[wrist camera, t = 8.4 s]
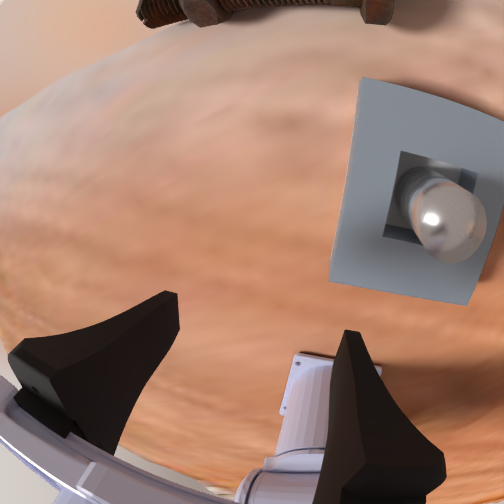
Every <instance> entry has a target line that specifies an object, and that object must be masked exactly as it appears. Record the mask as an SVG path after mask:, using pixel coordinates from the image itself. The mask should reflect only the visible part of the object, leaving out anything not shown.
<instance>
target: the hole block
mask: <svg viewBox="0 0 504 504" xmlns="http://www.w3.org/2000/svg"><path fill="white" fill-rule="evenodd" d="M419 166H423V167H427V168H430V169H432V170H434V171H436V172H437V173H439V174H441V175H443V176H444V177H446V178H448V179H449V180H451V181H453V182H454V183H456V184H458V185H459V186H461V187H462V188H464V189H466V190H467V191H469V192H470V193H472V194H473V195H475V196H476V197H477V198H478V199H479V200H480V202H481V203H482V205H483V207H484V209H485V213H486V218H487V227H486V232H485V236H484V239H483V241H482V243H481V245H480V246H479V248H478V249H477V250H476V251H475V252H474V253H473V254H472V255H471V256H470V257H469V258H467V259H465V260H463V261H461V262H458V263H451V264H449V263H443V262H440V261H437V260H436V259H434V258H433V257H432V256H431V255H430V254H429V253H428V251H427V250H426V248H425V247H424V245H423V244H422V242H421V241H420V239H419V238H418V236H417V235H416V233H415V232H414V231H413V229H412V228H411V226H410V225H409V223H408V222H407V221H406V219H405V218H404V216H403V215H402V214H401V212H400V211H399V209H398V207H397V205H396V202H395V187H396V184H397V182H398V180H399V178H400V177H401V176H402V174H403V173H405V172H406V171H407V170H409V169H411V168H414V167H419ZM503 207H504V121H502V120H499V119H497V118H495V117H492V116H490V115H488V114H485V113H483V112H480V111H478V110H475V109H473V108H470V107H467V106H465V105H462V104H459V103H456V102H453V101H451V100H448V99H445V98H442V97H438V96H435V95H432V94H429V93H425V92H422V91H419V90H415V89H411V88H408V87H404V86H400V85H396V84H392V83H388V82H383V81H379V80H374V79H370V78H365V77H363V78H362V79H361V80H360V82H359V83H358V91H357V100H356V109H355V117H354V125H353V132H352V140H351V147H350V153H349V160H348V166H347V173H346V179H345V185H344V190H343V196H342V202H341V207H340V213H339V218H338V223H337V228H336V233H335V238H334V243H333V248H332V252H331V257H330V268H329V282H334V283H340V284H345V285H350V286H356V287H361V288H367V289H372V290H378V291H383V292H389V293H394V294H400V295H406V296H411V297H417V298H423V299H428V300H434V301H440V302H446V303H452V304H457V305H463V306H467V304H468V302H469V300H470V298H471V296H472V293H473V291H474V289H475V286H476V284H477V282H478V279H479V277H480V274H481V272H482V269H483V267H484V264H485V262H486V259H487V256H488V254H489V251H490V248H491V245H492V242H493V239H494V236H495V233H496V230H497V227H498V224H499V221H500V217H501V214H502V210H503Z"/></svg>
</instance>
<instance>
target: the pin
mask: <svg viewBox="0 0 504 504" xmlns="http://www.w3.org/2000/svg"><path fill="white" fill-rule="evenodd" d="M395 202H396V205H397V207H398V209H399V211H400V212H401V214H402V215H403V216H404V218H405V219H406V221H407V222H408V223H409V225H410V226H411V228H412V229H413V231H414V232H415V233H416V235H417V236H418V238H419V239H420V241H421V242H422V244H423V245H424V247H425V248H426V250H427V251H428V253H429V254H430V255H431V256H432V257H433V258H434V259H436V260H437V261H440V262H443V263H449V264H451V263H458V262H461V261H463V260H465V259H467V258H469V257H470V256H471V255H472V254H473V253H474V252H475V251H476V250H477V249H478V248H479V246H480V245H481V243H482V241H483V239H484V236H485V232H486V227H487V218H486V213H485V209H484V207H483V205H482V203H481V202H480V200H479V199H478V198H477V197H476V196H475V195H473V194H472V193H470V192H469V191H467V190H466V189H464V188H462V187H461V186H459V185H458V184H456V183H454V182H453V181H451V180H449V179H448V178H446V177H444V176H443V175H441V174H439V173H437V172H436V171H434V170H432V169H430V168H427V167H423V166H419V167H414V168H411V169H409V170H407V171H406V172H405V173H403V174H402V176H401V177H400V178H399V180H398V182H397V184H396V187H395Z"/></svg>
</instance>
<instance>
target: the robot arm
mask: <svg viewBox="0 0 504 504" xmlns="http://www.w3.org/2000/svg"><path fill="white" fill-rule="evenodd" d="M179 330H180V325H179V311H178V296H177V293H173V292H169V291H163V292H161V293H159V294H157V295H155V296H153V297H151V298H150V299H148V300H146V301H144V302H142V303H140V304H138V305H137V306H135V307H133V308H131V309H129V310H127V311H125V312H123V313H121V314H119V315H117V316H114V317H112V318H110V319H108V320H106V321H103V322H101V323H98V324H95V325H92V326H90V327H87V328H83V329H80V330H76V331H72V332H69V333H64V334H59V335H53V336H47V337H37V338H25V339H24V340H23V341H21V342H20V343H19V344H18V345H17V346H16V347H15V348H14V349H13V350H12V351H11V352H10V353H9V354H8V362H9V364H10V366H11V368H12V370H13V372H14V374H15V375H16V377H17V379H18V381H19V382H20V384H21V385H22V388H21V389H20V390H19V391H18V389H17V388H16V387H15V386H14V385H12V384H11V383H10V382H9V381H7V380H6V379H5V378H4V377H3V376H0V442H1V443H2V444H3V445H4V446H5V447H6V448H7V449H8V450H9V451H10V452H12V453H13V454H14V455H15V456H16V457H17V458H18V459H19V460H21V461H22V462H23V463H24V464H25V465H27V466H28V467H29V468H30V469H31V470H33V471H34V472H35V473H36V474H38V475H39V476H40V477H42V478H43V479H44V480H45V481H46V482H48V483H49V484H50V485H52V486H53V487H55V488H56V489H57V490H59V491H60V493H59V494H58V496H57V497H56V499H55V500H54V502H53V504H426V495H427V494H429V493H430V492H431V491H433V490H434V489H436V488H437V487H438V486H440V485H441V484H442V483H443V482H444V481H445V479H446V477H447V475H446V464H445V458H444V453H443V452H442V451H441V450H439V449H438V448H437V447H436V446H435V445H434V444H432V443H431V442H430V441H429V440H428V439H427V438H426V437H425V436H424V435H423V434H422V433H421V432H420V431H419V430H418V429H417V428H416V427H415V426H414V425H413V424H412V423H411V422H410V420H409V419H408V418H407V417H406V416H405V414H404V413H403V412H402V411H401V409H400V408H399V407H398V405H397V404H396V403H395V401H394V400H393V398H392V397H391V395H390V393H389V392H388V390H387V388H386V387H385V385H384V383H383V381H382V380H381V378H380V376H381V374H382V367H380V366H375V365H374V364H373V362H372V360H371V357H370V355H369V353H368V351H367V348H366V346H365V343H364V341H363V339H362V336H361V334H360V332H357V331H351V330H345V331H344V334H343V337H342V340H341V343H340V345H339V348H338V351H337V354H336V357H335V359H330V358H325V357H319V356H314V355H308V354H303V353H297V354H295V355H294V359H293V363H292V367H291V371H290V375H289V378H288V382H287V386H286V390H285V393H284V397H283V401H282V404H281V408H280V414H281V415H284V419H283V424H282V428H281V432H280V436H279V440H278V444H277V448H276V452H275V455H274V457H266V459H265V462H264V465H263V468H257V469H254V470H252V471H251V472H250V473H249V474H248V475H247V476H246V477H245V478H244V479H243V481H242V482H241V484H240V485H239V488H238V490H237V493H236V496H235V500H234V501H230V500H227V499H223V498H219V497H216V496H213V495H209V494H206V493H203V492H200V491H197V490H194V489H191V488H188V487H185V486H182V485H179V484H177V483H174V482H171V481H169V480H166V479H163V478H161V477H158V476H156V475H154V474H151V473H149V472H147V471H144V470H142V469H140V468H138V467H135V466H133V465H131V464H129V463H127V462H125V461H123V460H121V459H119V458H116V457H115V456H114V453H115V450H116V448H117V445H118V442H119V440H120V437H121V434H122V432H123V430H124V427H125V425H126V423H127V420H128V418H129V416H130V414H131V412H132V409H133V407H134V405H135V403H136V401H137V399H138V397H139V395H140V393H141V392H142V390H143V388H144V386H145V385H146V383H147V381H148V380H149V379H150V377H151V376H152V374H153V373H154V371H155V370H156V368H157V367H158V366H159V364H160V363H161V361H162V360H163V358H164V357H165V355H166V354H167V352H168V351H169V349H170V348H171V346H172V344H173V342H174V340H175V338H176V336H177V334H178V332H179ZM298 362H300V363H298Z"/></svg>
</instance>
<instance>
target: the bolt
mask: <svg viewBox="0 0 504 504" xmlns="http://www.w3.org/2000/svg"><path fill="white" fill-rule="evenodd" d="M299 2H300V3H301V4H305V2H306V3H307V4H310V3H311V2H312V3H313V4H316V3H317V2H318V3H319V4H322V2H324V3H325V4H332V5H334V6H354V7H360V12H361V16H362V18H363V20H364V22H365V24H377V25H386V24H388V22H389V21H390V19H391V17H392V14H393V10H394V0H140V1H139V4H138V7H137V10H136V14H137V17H138V18H139V19H140V20H141V21H143V19H144V22H143V24H144V25H146V26H147V27H149V28H153V29H154V28H157V27H161V26H164V25H169V24H172V23H176V22H179V21H183V20H187V19H189V20H190V21H191V22H193V23H194V24H196V25H197V26H199V27H206V26H211V25H217V24H219V23H222V22H224V21H226V20H228V19H229V18H230V17H231V15H232V12H233V10H234V11H236V10H238V9H239V10H242V9H243V8H244V9H248V8H254V7H257V8H259V7H260V6H261V7H264V6H265V5H266V6H271V5H273V6H276V5H279V6H281V5H282V4H284V5H287V4H288V3H289V4H290V5H293V3H295V4H296V5H298V4H299Z"/></svg>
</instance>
